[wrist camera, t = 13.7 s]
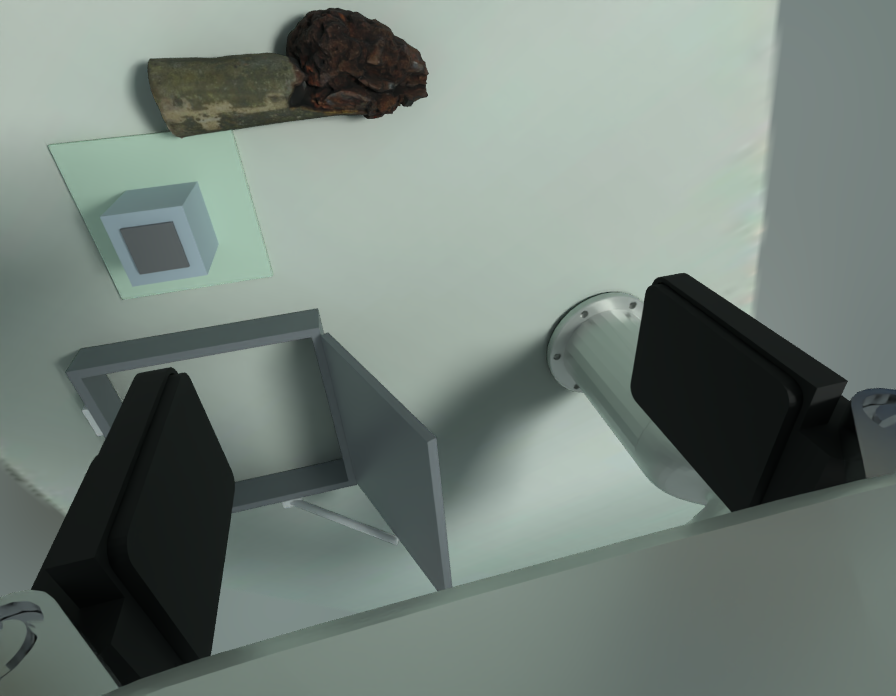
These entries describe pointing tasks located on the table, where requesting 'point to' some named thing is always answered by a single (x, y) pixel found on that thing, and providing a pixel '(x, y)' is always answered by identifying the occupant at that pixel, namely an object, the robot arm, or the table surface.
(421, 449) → the lid
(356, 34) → the brown rough-headed cylinder
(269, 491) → the case
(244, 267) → the mat
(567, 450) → the table surface
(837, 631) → the robot arm
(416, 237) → the table surface
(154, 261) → the module
